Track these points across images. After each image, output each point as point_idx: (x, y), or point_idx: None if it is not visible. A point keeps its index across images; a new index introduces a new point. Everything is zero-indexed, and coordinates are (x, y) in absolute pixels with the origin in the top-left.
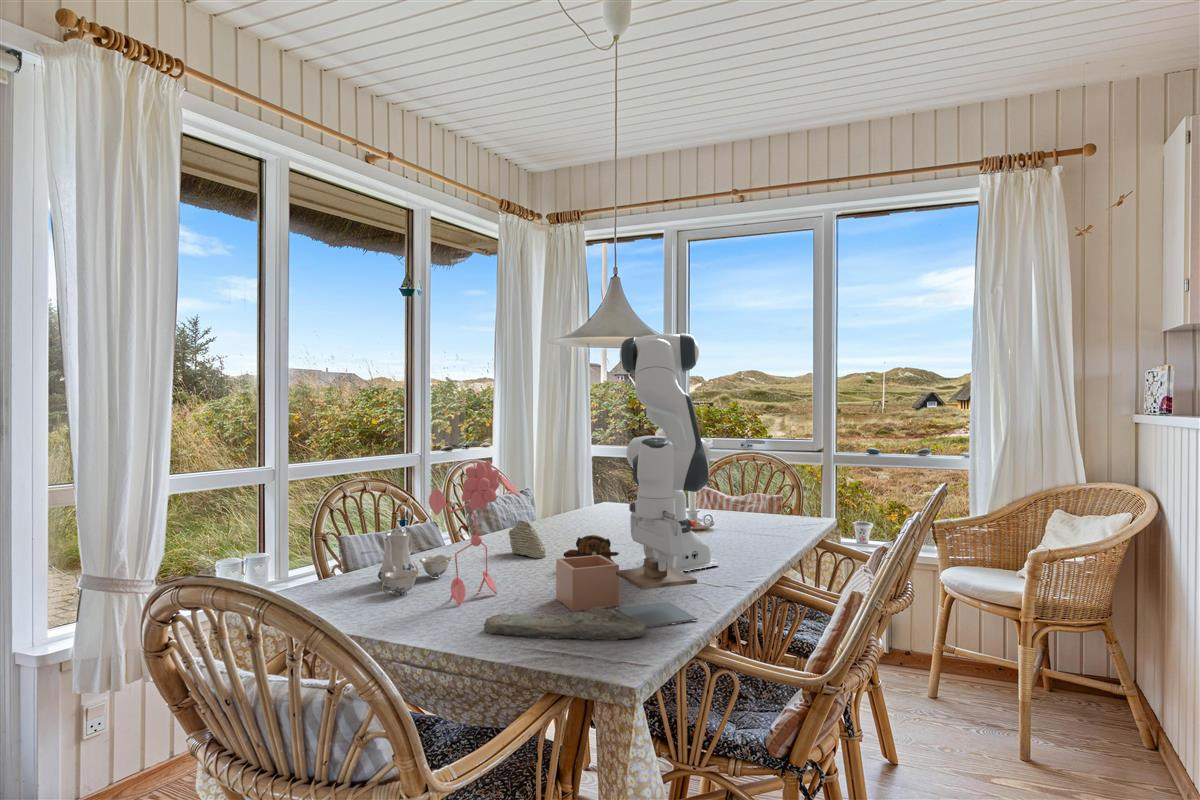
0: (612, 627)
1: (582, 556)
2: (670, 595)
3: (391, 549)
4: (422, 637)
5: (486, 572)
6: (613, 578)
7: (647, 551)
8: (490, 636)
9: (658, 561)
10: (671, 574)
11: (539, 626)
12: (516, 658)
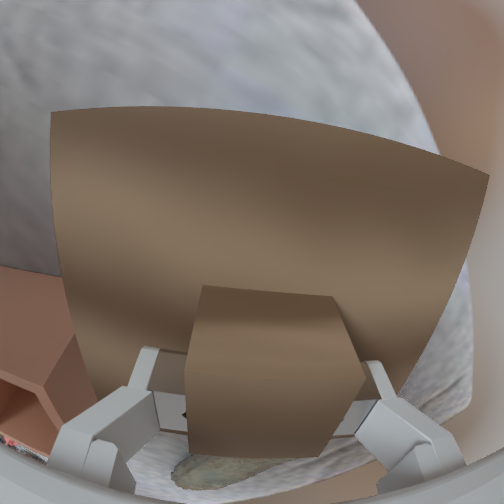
0: None
1: None
2: (62, 56)
3: None
4: (190, 499)
5: (9, 442)
6: (71, 364)
7: (121, 455)
8: None
9: (368, 446)
10: (314, 245)
11: (256, 473)
12: (313, 476)
